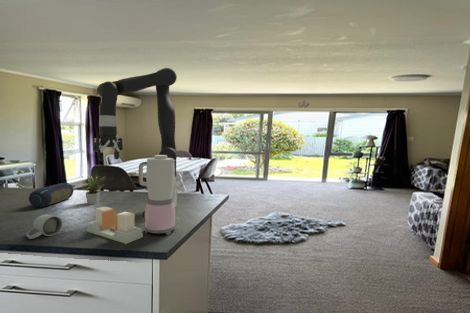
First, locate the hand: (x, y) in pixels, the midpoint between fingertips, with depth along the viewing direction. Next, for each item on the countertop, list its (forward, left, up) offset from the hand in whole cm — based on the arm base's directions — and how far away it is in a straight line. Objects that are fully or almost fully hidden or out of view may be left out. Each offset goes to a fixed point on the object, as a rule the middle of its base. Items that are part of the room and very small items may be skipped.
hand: (108, 159), depth 128 cm
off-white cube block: (+13, +15, -26) cm, 33 cm away
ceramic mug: (+28, -1, -28) cm, 40 cm away
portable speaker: (0, -46, -28) cm, 54 cm away
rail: (+13, +21, -28) cm, 37 cm away
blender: (+1, +32, -28) cm, 42 cm away
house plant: (-12, -27, -28) cm, 40 cm away
